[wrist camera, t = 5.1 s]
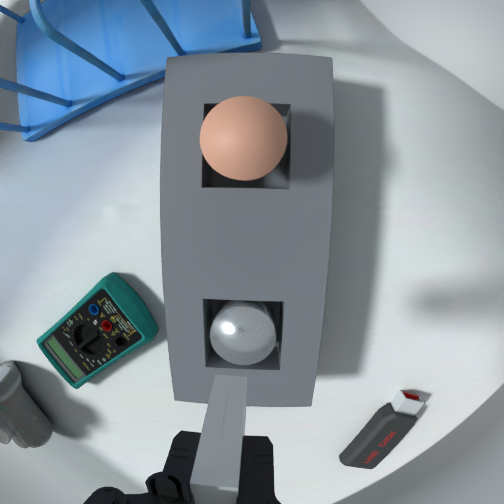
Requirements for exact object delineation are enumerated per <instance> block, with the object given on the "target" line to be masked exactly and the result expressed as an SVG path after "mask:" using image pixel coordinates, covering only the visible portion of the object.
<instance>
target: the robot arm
mask: <svg viewBox="0 0 504 504" xmlns="http://www.w3.org/2000/svg"><path fill="white" fill-rule="evenodd" d="M246 390H247V376H229V375H215V377H214V381H213V386H212V390H211V394H210V398H209V403H208V407H207V411H206V415H205V420H204V424H203V428H202V433H198V432H189V431H180V432H179V433H178V434H177V435H176V436H175V437H174V438H173V441H172V445H171V449H170V451H169V454H168V457H167V460H166V463H165V466H164V469H163V472H158V473H154V474H153V475H151V476H150V477H148V479H147V480H146V482H145V483H146V486H147V489H148V491H149V492H147V493H143V494H124V493H123V492H122V491H120V490H119V489H117V488H114V487H102V488H99V489H97V490H96V491H95V492H93V493H92V495H91V496H90V497H89V498H88V499H87V500H86V501H85V502H84V504H281V503H280V502H279V501H278V500H277V498H276V497H275V493H274V465H273V463H274V461H273V444H272V443H271V441H270V440H269V438H268V436H244V434H245V420H246Z"/></svg>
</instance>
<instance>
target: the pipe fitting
mask: <svg viewBox="0 0 504 504" xmlns="http://www.w3.org/2000/svg"><path fill="white" fill-rule="evenodd" d="M52 432H53V425H52V423H51V422H50V421H49V419H48V418H47V417H46V416H45V415H44V413H43V412H42V411H41V410H40V409H39V407H38V406H37V405H36V404H35V402H34V401H33V400H32V399H31V397H30V396H29V395H28V393H27V392H26V391H25V389H24V388H23V387H22V382H21V373H20V371H19V370H18V368H17V366H16V365H15V363H14V362H13V361H6V362H4V363H1V364H0V442H1V443H4V444H8V443H9V442H10V440H11V439H12V440H13V441H14V442H15V443H16V444H17V445H18V446H20V447H22V448H28V447H32V448H36V447H40V446H42V445H44V444H45V443H47V442H48V440H49V439H50V437H51V435H52Z"/></svg>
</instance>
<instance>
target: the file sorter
mask: <svg viewBox="0 0 504 504" xmlns="http://www.w3.org/2000/svg"><path fill="white" fill-rule="evenodd" d="M29 4H30V8H31V11H29V12H28V13H26V14H25V15H24V16H22V17H20V16H19V15H17V14H15V13H14V12H12V11H10V10H8V9H7V8H5V7H3V6H1V5H0V12H2V13H4V14H6V15H8V16H9V17H11V18H13V19H15V20H17V36H16V76H17V83H14V82H11V81H7V80H5V79H2V78H0V88H3V89H7V90H10V91H14V92H17V94H18V106H19V116H20V125H21V126H20V125H13V124H7V123H0V130H8V131H16V132H21V134H22V139H23V141H29V142H33V141H35V140H36V139H38V138H40V137H41V136H43V135H45V134H46V133H48V132H50V131H51V130H53V129H55V128H56V127H58V126H60V125H62V124H63V123H65V122H67V121H69V120H71V119H72V118H74V117H76V116H78V115H80V114H82V113H84V112H86V111H88V110H90V109H92V108H94V107H96V106H98V105H100V104H102V103H104V102H106V101H108V100H110V99H112V98H115V97H117V96H119V95H121V94H124V93H126V92H128V91H130V90H133V89H135V88H138V87H140V86H142V85H145V84H147V83H150V82H152V81H155V80H158V79H160V78H163V77H165V70H166V60H167V57H174V56H184V55H197V54H214V53H245V52H249V51H253V50H258V49H260V48H261V47H262V45H261V37H260V34H259V32H258V29H257V26H256V24H255V21H254V18H253V16H252V13H251V10H250V0H45V1H44V2H42V3H41V4H40V0H29Z"/></svg>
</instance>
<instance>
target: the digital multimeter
mask: <svg viewBox="0 0 504 504" xmlns="http://www.w3.org/2000/svg"><path fill="white" fill-rule="evenodd" d="M96 293H97V294H96ZM158 329H159V328H158V326H157V324H156V323H155V321H154V319H153V317H152V315H151V313H150V311H149V310H148V308H147V307H146V305H145V303H144V302H143V301H142V299H141V298H140V297H139V296H138V294H137V293H136V292H135V291H134V290H133V289H132V288H131V287H130V286H129V285H128V284H127V283H126V282H125V281H124V280H122V279H121V278H120V277H119V276H118V275H117V274H116V273H113V272H112V273H110V274H109V275H107V276H105V277H104V278H102V279H101V280H100V281H99V282H98V283H97V284H96V285H95V286H94V288H93V289H92V290H91V291H90V292H89V293H88V294H87V295H86V296H85V297H83V298H82V299H81V300H80V301H79V302H78V303H77V304H76V305H75V306H74V307H73V308H72V309H71V310H70V311H69V312H68V313H67V314H66V315H65V316H64V317H63V318H61V319H60V320H59V321H58V322H57V323H56V324H55V325H54V326H52V327H51V328H50V329H49V330H48V331H47V332H45V333H44V334H43V335H42V336H41V337H39V338H38V339H37V344H38V346H39V348H40V349H41V350H42V352H43V353H44V355H45V356H46V357H47V359H48V360H49V361H50V363H51V364H52V365H53V366H54V368H55V369H56V370H57V371H58V372H59V373H60V375H61V376H62V377H63V378H64V379H65V380H66V381H67V382H68V383H69V384H70V385H71V386H72V387H73V388H75V389H78V388H80V387H81V386H82V385H83V384H85V383H86V382H87V381H89V380H90V379H91V378H93V377H94V376H95V375H97V374H98V373H100V372H101V371H103V370H104V369H106V368H107V367H108V366H110V365H111V364H113V363H114V362H116V361H118V360H119V359H121V358H123V357H124V356H126V355H128V354H129V353H131V352H133V351H134V350H136V349H138V348H139V347H141V346H143V345H145V344H146V343H148V342H150V341H152V340H153V338H154V337H155V335H156V334H157V332H158ZM72 333H73V335H72ZM139 340H140V341H139ZM74 342H75V343H74ZM136 342H137V343H136ZM75 344H76V345H75ZM133 344H134V345H133ZM130 346H131V347H130ZM77 347H78V348H77ZM82 352H83V353H82ZM85 354H86V355H85Z"/></svg>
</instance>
